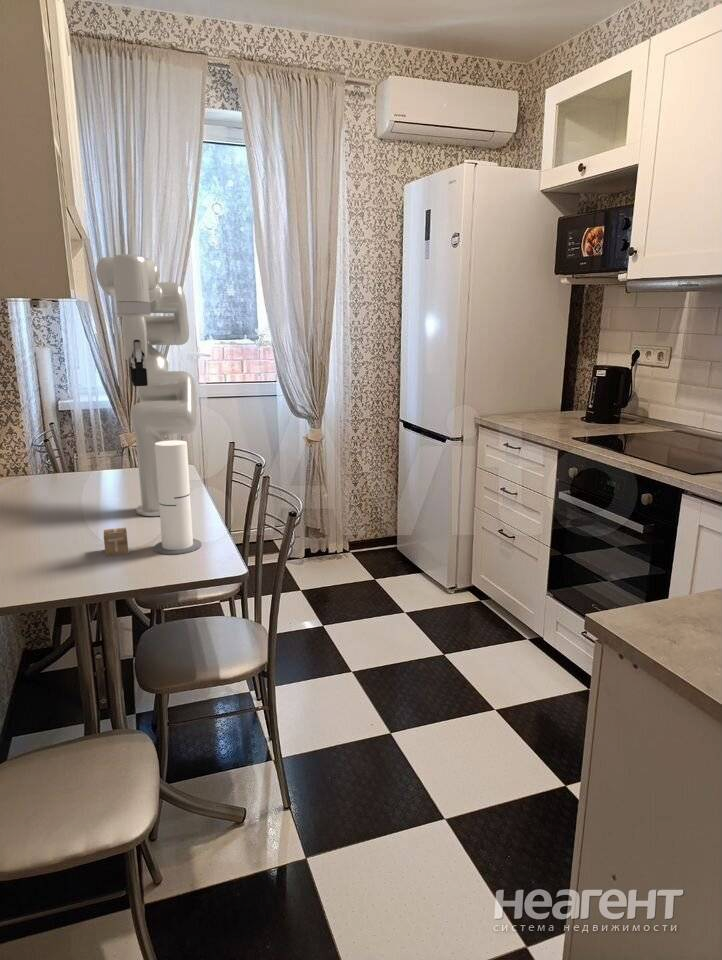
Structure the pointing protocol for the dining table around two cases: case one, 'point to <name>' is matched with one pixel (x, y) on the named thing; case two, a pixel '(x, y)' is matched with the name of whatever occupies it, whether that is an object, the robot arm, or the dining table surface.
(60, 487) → the dining table surface
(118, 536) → the wooden letter cube
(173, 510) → the cylindrical container
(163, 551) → the charcoal mat
